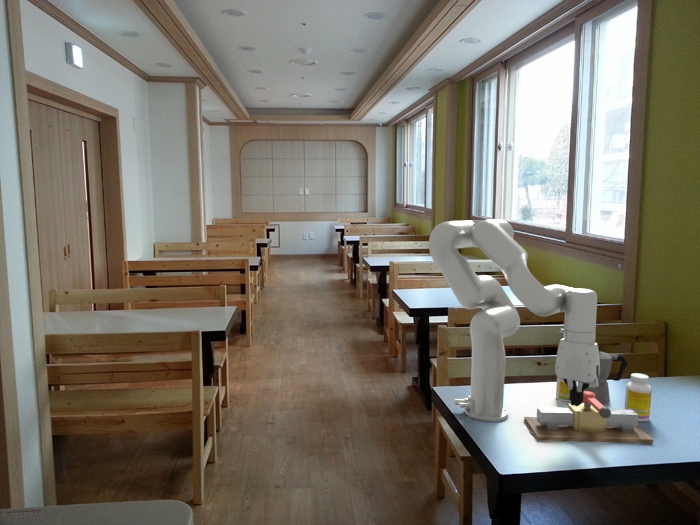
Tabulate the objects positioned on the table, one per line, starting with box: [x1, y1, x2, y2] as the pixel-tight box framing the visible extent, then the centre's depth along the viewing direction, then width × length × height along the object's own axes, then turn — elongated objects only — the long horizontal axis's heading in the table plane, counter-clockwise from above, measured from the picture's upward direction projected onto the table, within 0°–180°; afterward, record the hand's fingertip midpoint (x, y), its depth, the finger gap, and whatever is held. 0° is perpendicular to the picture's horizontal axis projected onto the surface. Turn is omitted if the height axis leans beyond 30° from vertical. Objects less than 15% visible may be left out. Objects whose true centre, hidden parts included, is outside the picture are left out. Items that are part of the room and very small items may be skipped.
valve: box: [536, 402, 639, 434], centre depth 152 cm, size 26×6×6 cm, turn 88°
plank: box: [523, 416, 654, 445], centre depth 152 cm, size 30×13×1 cm, turn 88°
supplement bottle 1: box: [555, 377, 571, 403], centre depth 176 cm, size 5×5×10 cm
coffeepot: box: [584, 345, 629, 406], centre depth 174 cm, size 15×9×18 cm, turn 68°
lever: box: [583, 391, 611, 418], centre depth 146 cm, size 14×4×4 cm, turn 178°
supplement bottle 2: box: [623, 372, 652, 423], centre depth 162 cm, size 7×7×13 cm
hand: (576, 404), depth 145 cm, fingers closed
